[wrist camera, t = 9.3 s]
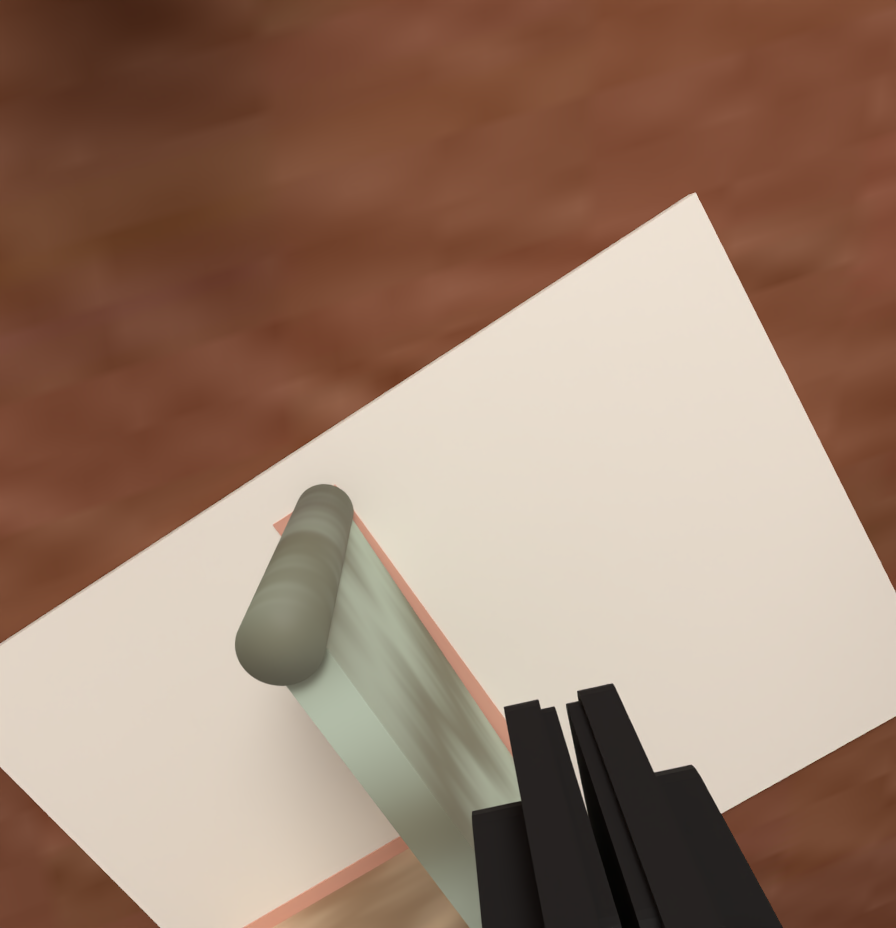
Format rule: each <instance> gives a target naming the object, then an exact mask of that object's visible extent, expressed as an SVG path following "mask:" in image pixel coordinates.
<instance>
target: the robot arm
mask: <svg viewBox="0 0 896 928" xmlns="http://www.w3.org/2000/svg"><path fill="white" fill-rule="evenodd" d="M577 696H578V701H576V702H571V703H567V704H566V709H567V714H568V719H569V724H570V729H571V734H572V739H573V744H574V749H575V754H576V759H577V764H578V769H579V774H580V779H581V783H582V788H583V793H584V798H585V803H586V807H585V804H584V801H583V797H582V794H581V791H580V787H579V784H578V781H577V778H576V774H575V771H574V768H573V764H572V761H571V758H570V754H569V751H568V748H567V745H566V741H565V738H564V735H563V731H562V728H561V725H560V721H559V718H558V715H557V712H556V708H555V706H553V707H548V708H544V709H541V707H540V703H539V700H538V699H537V700H532V701H528V702H523V703H519V704H514V705H509V706H505V707H504V713H505V718H506V723H507V729H508V734H509V739H510V744H511V750H512V755H513V760H514V766H515V771H516V776H517V781H518V787H519V792H520V797H521V801H518V802H513V803H508V804H504V805H499V806H494V807H490V808H485V809H480V810H475V811H472V828H473V838H474V849H475V860H476V870H477V881H478V891H479V902H480V912H481V923H482V928H783V927H782V925H781V923H780V922H779V920H778V918H777V916H776V914H775V912H774V911H773V909H772V907H771V905H770V903H769V901H768V899H767V898H766V896H765V894H764V892H763V890H762V888H761V887H760V885H759V883H758V881H757V879H756V877H755V876H754V874H753V872H752V870H751V868H750V866H749V864H748V863H747V861H746V859H745V857H744V855H743V853H742V852H741V850H740V848H739V846H738V844H737V842H736V840H735V839H734V837H733V835H732V833H731V831H730V829H729V828H728V826H727V824H726V822H725V820H724V818H723V816H722V815H721V813H720V811H719V809H718V807H717V805H716V804H715V802H714V800H713V798H712V796H711V794H710V793H709V791H708V789H707V787H706V785H705V783H704V781H703V780H702V778H701V776H700V774H699V773H698V771H697V770H696V768H695V767H694V766H693V765H692V764H691V765H687V766H682V767H677V768H673V769H668V770H663V771H659V772H654V771H653V769H652V766H651V764H650V762H649V760H648V758H647V755H646V753H645V751H644V749H643V747H642V745H641V742H640V740H639V738H638V736H637V734H636V731H635V729H634V727H633V725H632V723H631V720H630V718H629V716H628V714H627V712H626V709H625V707H624V705H623V703H622V701H621V699H620V696H619V694H618V692H617V690H616V688H615V686H614V684H613V683H611V684H606V685H602V686H597V687H593V688H588V689H583V690H579V691H577ZM586 808H587V811H586ZM587 813H588V814H587Z"/></svg>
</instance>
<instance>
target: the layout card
mask: <svg viewBox="0 0 896 928" xmlns="http://www.w3.org/2000/svg"><path fill="white" fill-rule="evenodd" d="M319 484H329V485H333V486H336V487H338V488H340V489H342V490H343V491H344V492H345V493H346V494H347V495H348V496H349V498H350V500H351V502H352V505H353V510H354V512H353V521H354V522H355V523H356V525H357V526H358V528H359V529H360V531H361V532H362V534H363V535H364V537H365V538H366V540H367V541H368V543H369V544H370V546H371V547H372V549H373V550H374V552H375V553H376V555H377V556H378V558H379V559H380V561H381V562H382V564H383V565H384V567H385V568H386V570H387V571H388V572H389V574H390V575H391V577H392V578H393V580H394V581H395V583H396V584H397V586H398V587H399V589H400V590H401V592H402V593H403V595H404V596H405V598H406V599H407V601H408V602H409V604H410V605H411V607H412V608H413V610H414V611H415V613H416V614H417V616H418V617H419V619H420V620H421V622H422V623H423V624H424V626H425V627H426V629H427V630H428V632H429V633H430V635H431V636H432V638H433V639H434V641H435V642H436V644H437V645H438V647H439V648H440V650H441V651H442V653H443V654H444V656H445V657H446V659H447V660H448V662H449V663H450V665H451V666H452V668H453V669H454V671H455V672H456V674H457V675H458V676H459V678H460V679H461V681H462V682H463V684H464V685H465V687H466V688H467V690H468V691H469V693H470V694H471V696H472V697H473V699H474V700H475V702H476V703H477V705H478V706H479V708H480V709H481V711H482V712H483V714H484V715H485V717H486V718H487V720H488V721H489V723H490V724H491V725H492V727H493V728H494V730H495V731H496V733H497V734H498V736H499V737H500V739H501V740H502V742H503V743H504V745H505V746H506V748H507V749H508V751H509V752H510V754H511V755H512V750H511V744H510V739H509V734H508V729H507V723H506V718H505V713H504V707H505V706H509V705H514V704H519V703H523V702H528V701H532V700H537V699H538V700H539V703H540V707H541V709H544V708H548V707H553V706H555V708H556V712H557V715H558V718H559V721H560V725H561V728H562V731H563V735H564V738H565V741H566V745H567V748H568V751H569V754H570V758H571V761H572V764H573V768H574V771H575V774H576V778H577V781H578V784H579V787H580V791H581V794H582V797H583V801H584V804H585V807H586V803H585V798H584V793H583V788H582V783H581V779H580V774H579V769H578V764H577V759H576V754H575V749H574V744H573V739H572V734H571V729H570V724H569V719H568V714H567V709H566V704H567V703H571V702H576V701H578V696H577V691H579V690H583V689H588V688H593V687H597V686H602V685H606V684H611V683H613V684H614V686H615V688H616V690H617V692H618V694H619V696H620V699H621V701H622V703H623V705H624V707H625V709H626V712H627V714H628V716H629V718H630V720H631V723H632V725H633V727H634V729H635V731H636V734H637V736H638V738H639V740H640V742H641V745H642V747H643V749H644V751H645V753H646V755H647V758H648V760H649V762H650V764H651V766H652V769H653V771H654V772H659V771H663V770H668V769H673V768H677V767H682V766H687V765H691V764H692V765H693V766H694V767H695V768H696V770H697V771H698V773H699V774H700V776H701V778H702V780H703V781H704V783H705V785H706V787H707V789H708V791H709V793H710V794H711V796H712V798H713V800H714V802H715V804H716V805H717V807H718V809H719V811H720V813H723V812H725V811H727V810H729V809H730V808H732V807H734V806H736V805H738V804H739V803H741V802H743V801H745V800H746V799H748V798H750V797H752V796H754V795H755V794H757V793H759V792H761V791H763V790H764V789H766V788H768V787H770V786H771V785H773V784H775V783H777V782H779V781H780V780H782V779H784V778H786V777H788V776H789V775H791V774H793V773H795V772H796V771H798V770H800V769H802V768H804V767H805V766H807V765H809V764H811V763H813V762H814V761H816V760H818V759H820V758H822V757H823V756H825V755H827V754H829V753H830V752H832V751H834V750H836V749H838V748H839V747H841V746H843V745H845V744H847V743H848V742H850V741H852V740H854V739H855V738H857V737H859V736H861V735H863V734H864V733H866V732H868V731H870V730H872V729H873V728H875V727H877V726H879V725H880V724H882V723H884V722H886V721H888V720H889V719H891V718H893V717H895V716H896V592H895V590H894V588H893V586H892V584H891V582H890V580H889V578H888V576H887V574H886V572H885V570H884V568H883V566H882V564H881V562H880V560H879V558H878V556H877V554H876V552H875V550H874V548H873V546H872V544H871V542H870V540H869V538H868V536H867V534H866V532H865V530H864V528H863V526H862V524H861V522H860V520H859V518H858V516H857V514H856V512H855V510H854V508H853V506H852V504H851V502H850V500H849V498H848V496H847V494H846V492H845V490H844V488H843V486H842V484H841V482H840V480H839V478H838V476H837V474H836V472H835V470H834V468H833V466H832V464H831V462H830V460H829V458H828V456H827V454H826V452H825V450H824V448H823V446H822V444H821V442H820V440H819V438H818V436H817V434H816V432H815V430H814V428H813V426H812V424H811V422H810V420H809V418H808V416H807V414H806V412H805V410H804V408H803V406H802V404H801V402H800V400H799V398H798V396H797V394H796V392H795V390H794V388H793V386H792V384H791V382H790V380H789V378H788V376H787V374H786V372H785V370H784V368H783V366H782V364H781V362H780V360H779V358H778V356H777V354H776V352H775V350H774V348H773V346H772V344H771V342H770V340H769V338H768V336H767V334H766V332H765V330H764V328H763V326H762V324H761V322H760V320H759V318H758V316H757V314H756V312H755V310H754V308H753V306H752V304H751V302H750V300H749V298H748V296H747V294H746V292H745V290H744V288H743V286H742V284H741V282H740V280H739V278H738V276H737V274H736V272H735V270H734V268H733V266H732V264H731V262H730V260H729V258H728V256H727V254H726V252H725V250H724V248H723V246H722V244H721V242H720V240H719V238H718V236H717V234H716V232H715V230H714V228H713V226H712V224H711V222H710V220H709V218H708V216H707V214H706V212H705V210H704V208H703V206H702V204H701V202H700V201H699V199H698V197H697V195H696V193H693V194H689V195H688V196H686V197H684V198H683V199H681V200H680V201H678V202H677V203H675V204H674V205H672V206H671V207H669V208H668V209H666V210H665V211H663V212H661V213H660V214H658V215H657V216H655V217H654V218H652V219H651V220H649V221H648V222H646V223H645V224H643V225H642V226H640V227H638V228H637V229H635V230H634V231H632V232H631V233H629V234H628V235H626V236H625V237H623V238H622V239H620V240H619V241H617V242H615V243H614V244H612V245H611V246H609V247H608V248H606V249H605V250H603V251H602V252H600V253H599V254H597V255H596V256H594V257H592V258H591V259H589V260H588V261H586V262H585V263H583V264H582V265H580V266H579V267H577V268H576V269H574V270H573V271H571V272H569V273H568V274H566V275H565V276H563V277H562V278H560V279H559V280H557V281H556V282H554V283H553V284H551V285H549V286H548V287H546V288H545V289H543V290H542V291H540V292H539V293H537V294H536V295H534V296H533V297H531V298H530V299H528V300H526V301H525V302H523V303H522V304H520V305H519V306H517V307H516V308H514V309H513V310H511V311H510V312H508V313H507V314H505V315H503V316H502V317H500V318H499V319H497V320H496V321H494V322H493V323H491V324H490V325H488V326H487V327H485V328H484V329H482V330H480V331H479V332H477V333H476V334H474V335H473V336H471V337H470V338H468V339H467V340H465V341H464V342H462V343H461V344H459V345H457V346H456V347H454V348H453V349H451V350H450V351H448V352H447V353H445V354H444V355H442V356H441V357H439V358H438V359H436V360H434V361H433V362H431V363H430V364H428V365H427V366H425V367H424V368H422V369H421V370H419V371H418V372H416V373H415V374H413V375H411V376H410V377H408V378H407V379H405V380H404V381H402V382H401V383H399V384H398V385H396V386H395V387H393V388H392V389H390V390H388V391H387V392H385V393H384V394H382V395H381V396H379V397H378V398H376V399H375V400H373V401H372V402H370V403H369V404H367V405H365V406H364V407H362V408H361V409H359V410H358V411H356V412H355V413H353V414H352V415H350V416H349V417H347V418H346V419H344V420H342V421H341V422H339V423H338V424H336V425H335V426H333V427H332V428H330V429H329V430H327V431H326V432H324V433H322V434H321V435H319V436H318V437H316V438H315V439H313V440H312V441H310V442H309V443H307V444H306V445H304V446H303V447H301V448H299V449H298V450H296V451H295V452H293V453H292V454H290V455H289V456H287V457H286V458H284V459H283V460H281V461H280V462H278V463H276V464H275V465H273V466H272V467H270V468H269V469H267V470H266V471H264V472H263V473H261V474H260V475H258V476H257V477H255V478H253V479H252V480H250V481H249V482H247V483H246V484H244V485H243V486H241V487H240V488H238V489H237V490H235V491H234V492H232V493H230V494H229V495H227V496H226V497H224V498H223V499H221V500H220V501H218V502H217V503H215V504H214V505H212V506H211V507H209V508H207V509H206V510H204V511H203V512H201V513H200V514H198V515H197V516H195V517H194V518H192V519H191V520H189V521H188V522H186V523H184V524H183V525H181V526H180V527H178V528H177V529H175V530H174V531H172V532H171V533H169V534H168V535H166V536H165V537H163V538H161V539H160V540H158V541H157V542H155V543H154V544H152V545H151V546H149V547H148V548H146V549H145V550H143V551H142V552H140V553H138V554H137V555H135V556H134V557H132V558H131V559H129V560H128V561H126V562H125V563H123V564H122V565H120V566H119V567H117V568H115V569H114V570H112V571H111V572H109V573H108V574H106V575H105V576H103V577H102V578H100V579H99V580H97V581H95V582H94V583H92V584H91V585H89V586H88V587H86V588H85V589H83V590H82V591H80V592H79V593H77V594H76V595H74V596H72V597H71V598H69V599H68V600H66V601H65V602H63V603H62V604H60V605H59V606H57V607H56V608H54V609H53V610H51V611H49V612H48V613H46V614H45V615H43V616H42V617H40V618H39V619H37V620H36V621H34V622H33V623H31V624H30V625H28V626H26V627H25V628H23V629H22V630H20V631H19V632H17V633H16V634H14V635H13V636H11V637H10V638H8V639H7V640H5V641H3V642H2V643H0V767H1V768H2V769H3V770H4V771H5V772H6V773H7V774H8V775H9V776H10V777H11V778H12V779H13V780H14V781H15V782H16V783H17V784H18V785H19V786H20V787H21V788H22V789H23V790H24V791H25V792H26V793H27V794H28V795H29V796H30V797H31V798H32V799H33V800H34V801H35V802H36V803H37V804H38V805H39V806H40V807H41V808H42V809H43V810H44V811H45V812H46V813H47V814H48V815H49V816H50V817H51V818H52V819H53V820H54V821H55V822H56V823H57V824H58V825H59V826H60V827H61V828H62V829H63V830H64V831H65V832H66V833H67V834H68V835H69V836H70V837H71V838H72V839H73V840H74V841H75V842H76V843H77V844H78V845H79V846H80V847H81V848H82V849H83V850H84V851H85V852H86V853H87V854H88V855H89V856H90V857H91V858H92V859H93V860H94V861H95V862H96V863H97V864H98V865H99V866H100V867H101V868H102V869H103V870H104V871H105V872H106V873H107V874H108V875H109V876H110V877H111V878H112V879H113V880H114V881H115V882H116V883H117V884H118V885H119V886H120V887H121V888H122V889H123V890H124V891H125V892H126V893H127V894H128V895H129V896H130V897H131V898H132V899H133V900H134V901H135V902H136V903H137V904H138V905H139V906H140V907H141V908H142V909H143V910H144V911H145V912H146V913H147V914H148V915H149V916H150V917H151V918H152V919H153V920H154V921H155V922H156V923H157V924H158V926H159V927H160V928H272V927H274V926H276V925H278V924H279V923H281V922H283V921H285V920H286V919H288V918H290V917H291V916H293V915H295V914H297V913H298V912H300V911H302V910H303V909H305V908H307V907H309V906H310V905H312V904H314V903H316V902H317V901H319V900H321V899H322V898H324V897H326V896H328V895H329V894H331V893H333V892H334V891H336V890H338V889H340V888H341V887H343V886H345V885H347V884H348V883H350V882H352V881H353V880H355V879H357V878H359V877H360V876H362V875H364V874H365V873H367V872H369V871H371V870H372V869H374V868H376V867H377V866H379V865H381V864H383V863H384V862H386V861H388V860H390V859H391V858H393V857H395V856H396V855H398V854H400V853H402V852H403V851H405V850H407V849H408V848H409V847H408V846H407V845H406V843H405V842H404V841H403V839H402V838H401V837H400V835H399V834H398V833H397V831H396V830H395V829H394V827H393V826H392V825H391V823H390V822H389V821H388V819H387V818H386V817H385V816H384V814H383V813H382V812H381V810H380V809H379V808H378V806H377V805H376V804H375V802H374V801H373V800H372V798H371V797H370V796H369V794H368V793H367V792H366V790H365V789H364V788H363V787H362V785H361V784H360V783H359V781H358V780H357V779H356V777H355V776H354V775H353V773H352V772H351V771H350V769H349V768H348V767H347V765H346V764H345V763H344V761H343V760H342V759H341V758H340V756H339V755H338V754H337V752H336V751H335V750H334V748H333V747H332V746H331V744H330V743H329V742H328V740H327V739H326V738H325V736H324V735H323V734H322V732H321V731H320V730H319V729H318V727H317V726H316V725H315V723H314V722H313V721H312V719H311V718H310V717H309V715H308V714H307V713H306V711H305V710H304V709H303V707H302V706H301V705H300V704H299V702H298V701H297V700H296V698H295V697H294V696H293V694H292V693H291V692H290V690H289V689H288V688H287V686H275V685H270V684H266V683H263V682H261V681H259V680H257V679H255V678H253V677H252V676H251V675H249V674H248V673H247V672H246V671H245V670H244V668H243V667H242V666H241V664H240V662H239V660H238V658H237V655H236V651H235V638H236V634H237V631H238V629H239V627H240V625H241V622H242V620H243V618H244V616H245V614H246V612H247V609H248V607H249V605H250V603H251V601H252V599H253V597H254V594H255V592H256V590H257V588H258V586H259V584H260V581H261V579H262V577H263V575H264V573H265V571H266V568H267V566H268V564H269V562H270V560H271V558H272V556H273V553H274V551H275V549H276V547H277V545H278V543H279V540H280V538H281V536H282V534H283V532H284V530H285V527H286V525H287V523H288V521H289V519H290V517H291V515H292V512H293V510H294V508H295V506H296V504H297V502H298V499H299V498H300V496H301V495H302V493H303V492H304V491H306V490H307V489H308V488H310V487H312V486H315V485H319ZM512 757H513V755H512ZM586 811H587V808H586ZM587 814H588V813H587Z"/></svg>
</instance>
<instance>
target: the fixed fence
mask: <svg viewBox="0 0 896 928" xmlns="http://www.w3.org/2000/svg"><path fill="white" fill-rule="evenodd" d="M272 928H469V926H468V925H467V924H466V922H465V921H464V920H463V918H462V917H461V916H460V914H459V913H458V912H457V910H456V909H455V908H454V906H453V905H452V904H451V902H450V901H449V900H448V899H447V897H446V896H445V895H444V893H443V892H442V891H441V889H440V888H439V887H438V885H437V884H436V883H435V881H434V880H433V879H432V877H431V876H430V875H429V873H428V872H427V871H426V870H425V868H424V867H423V866H422V864H421V863H420V862H419V860H418V859H417V858H416V856H415V855H414V854H413V852H412V851H411V850H410V848H408V849H407V850H405V851H403V852H402V853H400V854H398V855H396V856H395V857H393V858H391V859H390V860H388V861H386V862H384V863H383V864H381V865H379V866H377V867H376V868H374V869H372V870H371V871H369V872H367V873H365V874H364V875H362V876H360V877H359V878H357V879H355V880H353V881H352V882H350V883H348V884H347V885H345V886H343V887H341V888H340V889H338V890H336V891H334V892H333V893H331V894H329V895H328V896H326V897H324V898H322V899H321V900H319V901H317V902H316V903H314V904H312V905H310V906H309V907H307V908H305V909H303V910H302V911H300V912H298V913H297V914H295V915H293V916H291V917H290V918H288V919H286V920H285V921H283V922H281V923H279V924H278V925H276V926H274V927H272Z"/></svg>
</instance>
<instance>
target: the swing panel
mask: <svg viewBox="0 0 896 928" xmlns="http://www.w3.org/2000/svg"><path fill="white" fill-rule="evenodd" d="M353 512H354V510H353V505H352V502H351V500H350V498H349V496H348V495H347V494H346V493H345V492H344V491H343V490H342V489H340V488H338V487H336V486H333V485H329V484H319V485H315V486H312V487H310V488H308V489H307V490H306V491H304V492H303V493H302V495H301V496H300V498H299V499H298V502H297V504H296V506H295V508H294V510H293V512H292V515H291V517H290V519H289V521H288V523H287V525H286V527H285V530H284V532H283V534H282V536H281V538H280V540H279V543H278V545H277V547H276V549H275V551H274V553H273V556H272V558H271V560H270V562H269V564H268V566H267V568H266V571H265V573H264V575H263V577H262V579H261V581H260V584H259V586H258V588H257V590H256V592H255V594H254V597H253V599H252V601H251V603H250V605H249V607H248V609H247V612H246V614H245V616H244V618H243V620H242V622H241V625H240V627H239V629H238V631H237V634H236V638H235V651H236V655H237V658H238V660H239V662H240V664H241V666H242V667H243V668H244V670H245V671H246V672H247V673H248V674H249V675H251V676H252V677H253V678H255V679H257V680H259V681H261V682H263V683H266V684H270V685H275V686H287V688H288V689H289V690H290V692H291V693H292V694H293V696H294V697H295V698H296V700H297V701H298V702H299V704H300V705H301V706H302V707H303V709H304V710H305V711H306V713H307V714H308V715H309V717H310V718H311V719H312V721H313V722H314V723H315V725H316V726H317V727H318V729H319V730H320V731H321V732H322V734H323V735H324V736H325V738H326V739H327V740H328V742H329V743H330V744H331V746H332V747H333V748H334V750H335V751H336V752H337V754H338V755H339V756H340V758H341V759H342V760H343V761H344V763H345V764H346V765H347V767H348V768H349V769H350V771H351V772H352V773H353V775H354V776H355V777H356V779H357V780H358V781H359V783H360V784H361V785H362V787H363V788H364V789H365V790H366V792H367V793H368V794H369V796H370V797H371V798H372V800H373V801H374V802H375V804H376V805H377V806H378V808H379V809H380V810H381V812H382V813H383V814H384V816H385V817H386V818H387V819H388V821H389V822H390V823H391V825H392V826H393V827H394V829H395V830H396V831H397V833H398V834H399V835H400V837H401V838H402V839H403V841H404V842H405V843H406V845H407V846H408V847H409V848H410V850H411V851H412V852H413V854H414V855H415V856H416V858H417V859H418V860H419V862H420V863H421V864H422V866H423V867H424V868H425V870H426V871H427V872H428V873H429V875H430V876H431V877H432V879H433V880H434V881H435V883H436V884H437V885H438V887H439V888H440V889H441V891H442V892H443V893H444V895H445V896H446V897H447V899H448V900H449V901H450V902H451V904H452V905H453V906H454V908H455V909H456V910H457V912H458V913H459V914H460V916H461V917H462V918H463V920H464V921H465V922H466V924H467V925H468V926H469V928H482V923H481V912H480V902H479V891H478V881H477V870H476V860H475V849H474V838H473V828H472V811H475V810H480V809H485V808H490V807H494V806H499V805H504V804H508V803H513V802H518V801H521V797H520V792H519V787H518V781H517V776H516V771H515V766H514V760H513V757H512V755H511V754H510V752H509V751H508V749H507V748H506V746H505V745H504V743H503V742H502V740H501V739H500V737H499V736H498V734H497V733H496V731H495V730H494V728H493V727H492V725H491V724H490V723H489V721H488V720H487V718H486V717H485V715H484V714H483V712H482V711H481V709H480V708H479V706H478V705H477V703H476V702H475V700H474V699H473V697H472V696H471V694H470V693H469V691H468V690H467V688H466V687H465V685H464V684H463V682H462V681H461V679H460V678H459V676H458V675H457V674H456V672H455V671H454V669H453V668H452V666H451V665H450V663H449V662H448V660H447V659H446V657H445V656H444V654H443V653H442V651H441V650H440V648H439V647H438V645H437V644H436V642H435V641H434V639H433V638H432V636H431V635H430V633H429V632H428V630H427V629H426V627H425V626H424V624H423V623H422V622H421V620H420V619H419V617H418V616H417V614H416V613H415V611H414V610H413V608H412V607H411V605H410V604H409V602H408V601H407V599H406V598H405V596H404V595H403V593H402V592H401V590H400V589H399V587H398V586H397V584H396V583H395V581H394V580H393V578H392V577H391V575H390V574H389V572H388V571H387V570H386V568H385V567H384V565H383V564H382V562H381V561H380V559H379V558H378V556H377V555H376V553H375V552H374V550H373V549H372V547H371V546H370V544H369V543H368V541H367V540H366V538H365V537H364V535H363V534H362V532H361V531H360V529H359V528H358V526H357V525H356V523H355V522H354V521H353Z"/></svg>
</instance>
